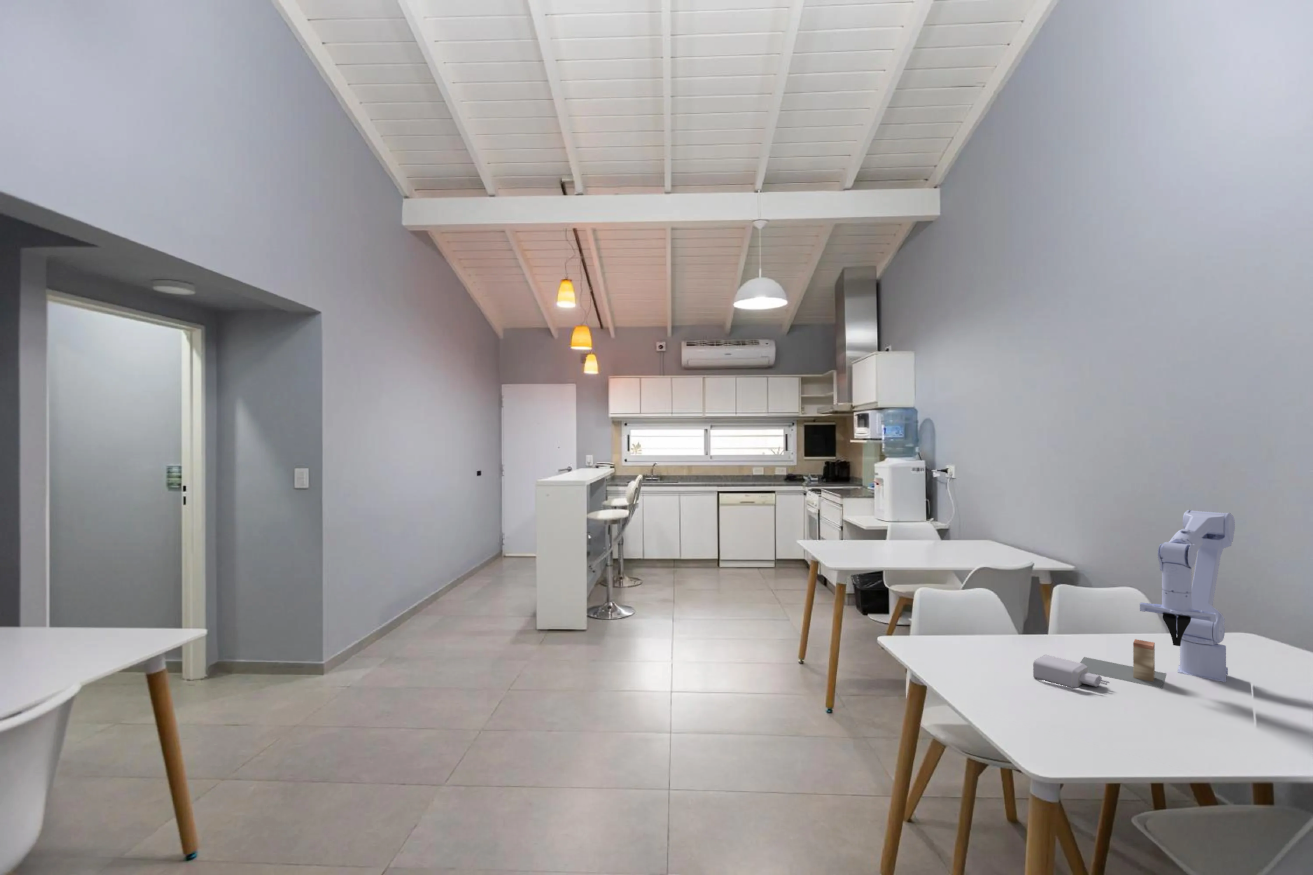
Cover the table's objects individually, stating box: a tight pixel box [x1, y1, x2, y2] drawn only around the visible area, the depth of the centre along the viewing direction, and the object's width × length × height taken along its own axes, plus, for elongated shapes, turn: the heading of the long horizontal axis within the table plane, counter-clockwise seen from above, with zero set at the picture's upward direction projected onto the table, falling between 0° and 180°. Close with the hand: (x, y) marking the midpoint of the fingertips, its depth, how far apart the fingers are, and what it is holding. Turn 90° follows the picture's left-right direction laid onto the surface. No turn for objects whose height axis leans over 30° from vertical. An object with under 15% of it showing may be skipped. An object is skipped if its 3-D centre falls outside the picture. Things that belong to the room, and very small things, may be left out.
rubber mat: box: [1079, 656, 1167, 689], centre depth 162 cm, size 18×14×1 cm
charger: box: [1032, 654, 1111, 689], centre depth 156 cm, size 5×9×15 cm
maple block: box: [1132, 638, 1156, 682], centre depth 158 cm, size 4×4×9 cm
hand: (1176, 644), depth 154 cm, fingers closed
